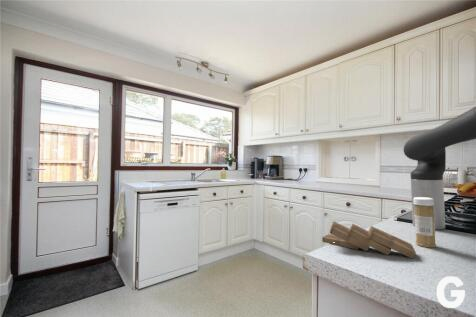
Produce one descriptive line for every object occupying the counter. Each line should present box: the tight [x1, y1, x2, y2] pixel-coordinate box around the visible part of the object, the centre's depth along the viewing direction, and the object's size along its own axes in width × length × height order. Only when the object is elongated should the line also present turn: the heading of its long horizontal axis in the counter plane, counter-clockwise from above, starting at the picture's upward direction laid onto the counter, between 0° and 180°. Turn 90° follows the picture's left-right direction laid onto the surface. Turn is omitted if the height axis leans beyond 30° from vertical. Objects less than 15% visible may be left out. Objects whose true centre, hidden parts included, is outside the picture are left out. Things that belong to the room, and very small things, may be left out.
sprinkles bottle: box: [413, 197, 437, 248], centre depth 66 cm, size 5×5×13 cm
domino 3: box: [367, 225, 416, 260], centre depth 61 cm, size 5×2×10 cm
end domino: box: [321, 233, 360, 250], centre depth 69 cm, size 5×2×10 cm
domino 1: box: [329, 220, 370, 252], centre depth 65 cm, size 5×2×10 cm
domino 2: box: [348, 223, 392, 256], centre depth 63 cm, size 5×2×10 cm
